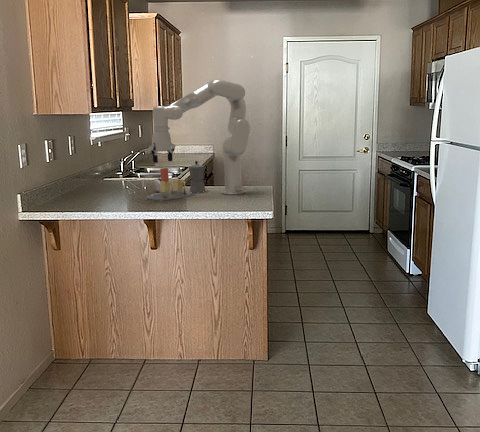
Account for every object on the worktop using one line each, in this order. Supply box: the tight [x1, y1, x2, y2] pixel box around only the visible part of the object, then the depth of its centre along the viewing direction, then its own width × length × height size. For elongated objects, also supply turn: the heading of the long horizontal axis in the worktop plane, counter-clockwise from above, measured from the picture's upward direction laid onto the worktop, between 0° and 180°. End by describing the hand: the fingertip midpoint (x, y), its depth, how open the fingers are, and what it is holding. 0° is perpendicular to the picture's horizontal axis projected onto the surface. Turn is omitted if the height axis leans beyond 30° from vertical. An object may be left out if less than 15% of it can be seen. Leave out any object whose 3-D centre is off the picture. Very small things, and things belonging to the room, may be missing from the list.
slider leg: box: [159, 167, 174, 195], centre depth 302 cm, size 8×4×14 cm, turn 45°
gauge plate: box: [145, 178, 197, 202], centre depth 305 cm, size 14×24×9 cm, turn 135°
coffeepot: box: [188, 160, 206, 194], centre depth 321 cm, size 15×9×18 cm, turn 176°
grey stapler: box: [153, 177, 171, 193], centre depth 321 cm, size 17×5×10 cm, turn 22°
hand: (162, 161), depth 294 cm, fingers open, 9 cm apart
